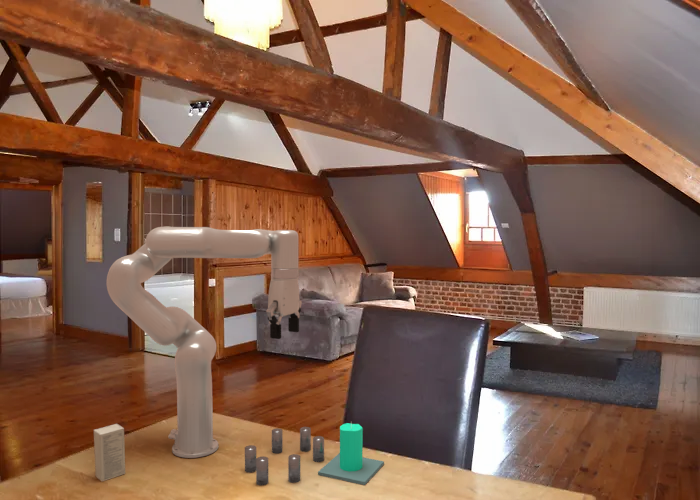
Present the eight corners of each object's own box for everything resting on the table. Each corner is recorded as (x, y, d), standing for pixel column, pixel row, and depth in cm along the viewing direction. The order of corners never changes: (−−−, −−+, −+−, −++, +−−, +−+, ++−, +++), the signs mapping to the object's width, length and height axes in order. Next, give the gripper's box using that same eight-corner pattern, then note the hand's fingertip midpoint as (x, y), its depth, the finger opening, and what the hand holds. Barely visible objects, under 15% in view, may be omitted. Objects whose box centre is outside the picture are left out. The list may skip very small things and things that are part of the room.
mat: (317, 475, 148) (317, 471, 148) (339, 455, 159) (339, 452, 159) (364, 485, 142) (364, 482, 142) (383, 464, 154) (384, 461, 154)
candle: (360, 472, 147) (360, 426, 147) (337, 470, 149) (337, 424, 148) (364, 462, 153) (364, 418, 152) (342, 460, 154) (342, 416, 154)
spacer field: (231, 478, 145) (231, 455, 145) (283, 442, 168) (283, 422, 168) (287, 491, 139) (287, 467, 138) (333, 452, 161) (333, 431, 161)
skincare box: (118, 468, 151) (117, 423, 150) (126, 474, 147) (125, 427, 147) (93, 476, 146) (92, 429, 145) (100, 482, 143) (99, 434, 142)
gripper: (289, 270, 171) (289, 328, 172) (256, 276, 155) (256, 339, 156) (311, 272, 168) (311, 330, 169) (280, 278, 152) (280, 342, 153)
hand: (284, 334), depth 163 cm, fingers open, 9 cm apart
